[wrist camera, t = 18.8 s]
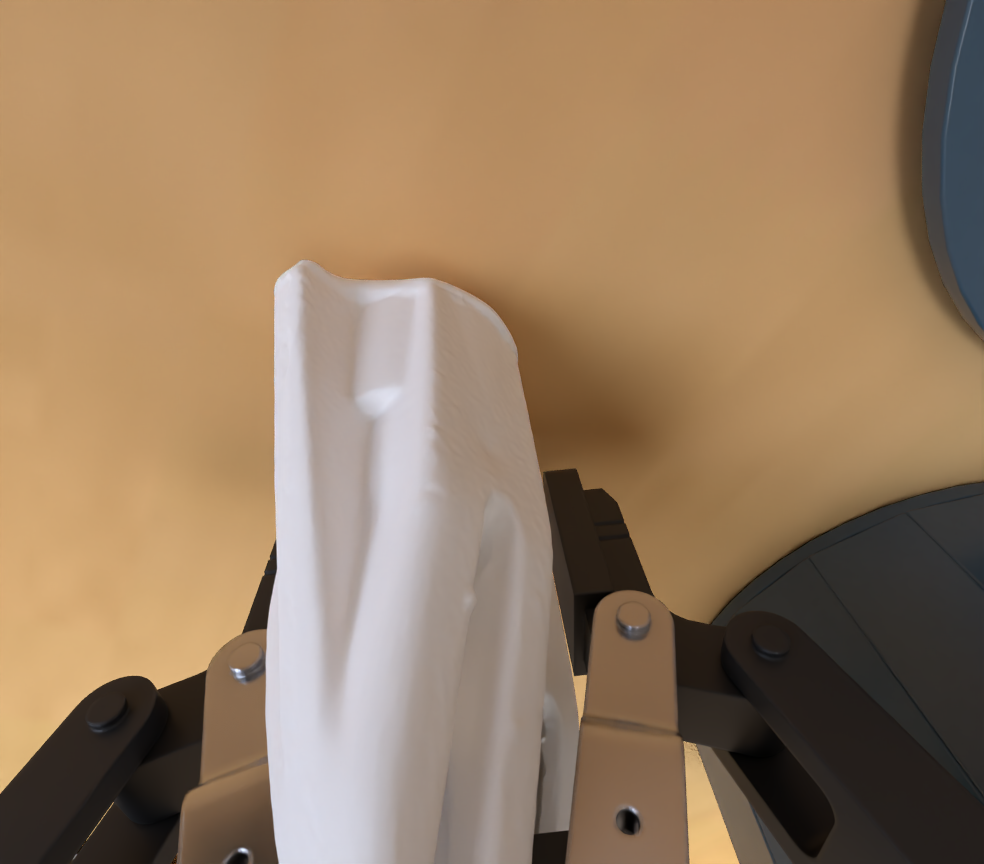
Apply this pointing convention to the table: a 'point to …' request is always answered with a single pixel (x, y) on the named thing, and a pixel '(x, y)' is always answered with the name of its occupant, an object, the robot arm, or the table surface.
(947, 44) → the lid
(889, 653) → the tin
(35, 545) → the table surface
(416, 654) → the shaker set
